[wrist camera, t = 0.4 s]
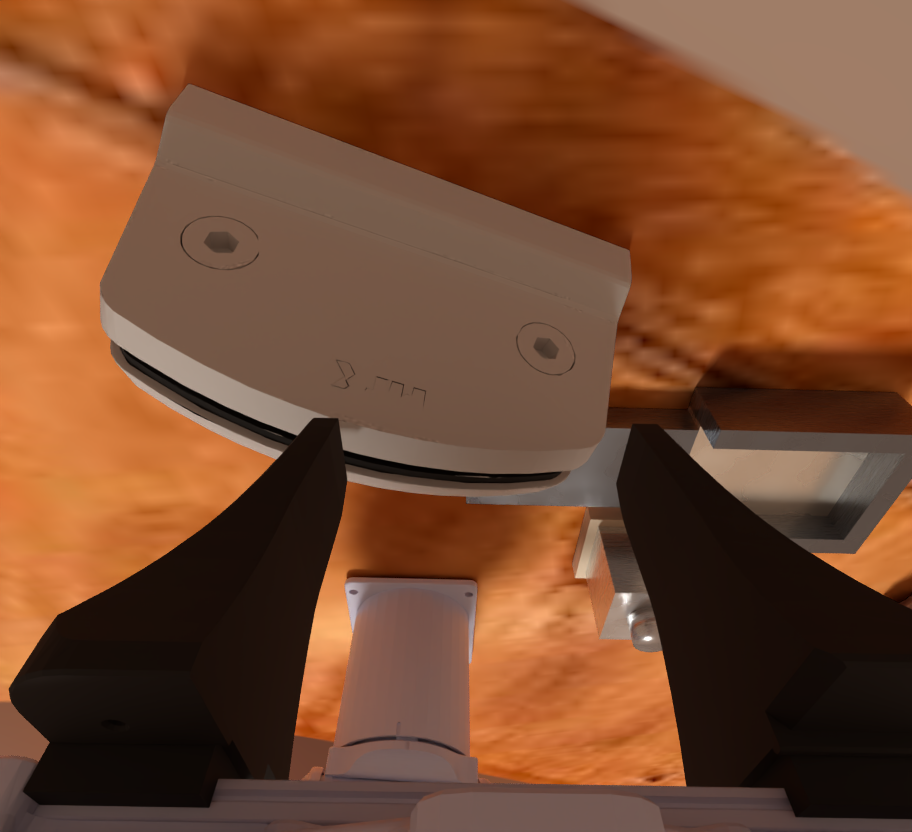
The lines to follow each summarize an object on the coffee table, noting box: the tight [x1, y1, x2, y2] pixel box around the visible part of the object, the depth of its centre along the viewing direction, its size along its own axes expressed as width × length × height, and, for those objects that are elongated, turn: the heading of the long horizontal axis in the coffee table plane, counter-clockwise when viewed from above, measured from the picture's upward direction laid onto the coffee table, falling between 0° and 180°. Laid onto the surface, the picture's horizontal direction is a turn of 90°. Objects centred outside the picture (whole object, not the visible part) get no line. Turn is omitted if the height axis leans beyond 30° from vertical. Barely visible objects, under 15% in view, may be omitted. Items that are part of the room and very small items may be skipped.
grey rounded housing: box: [100, 84, 632, 497], centre depth 18 cm, size 17×5×10 cm, turn 70°
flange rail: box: [466, 387, 912, 554], centre depth 25 cm, size 8×19×3 cm, turn 89°
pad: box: [572, 507, 625, 578], centre depth 30 cm, size 5×5×1 cm
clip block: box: [585, 526, 662, 652], centre depth 27 cm, size 4×4×5 cm
